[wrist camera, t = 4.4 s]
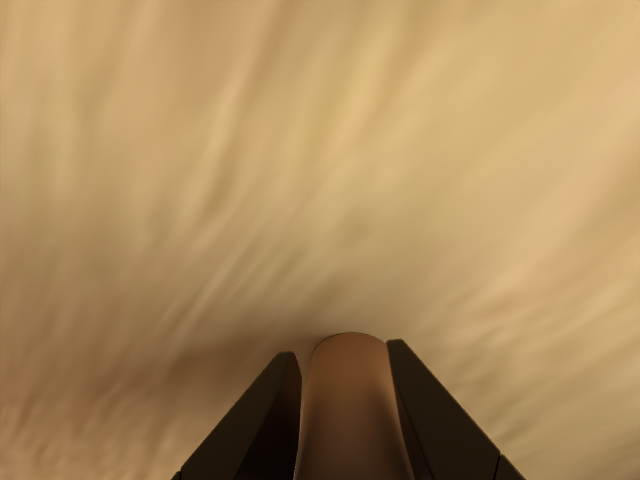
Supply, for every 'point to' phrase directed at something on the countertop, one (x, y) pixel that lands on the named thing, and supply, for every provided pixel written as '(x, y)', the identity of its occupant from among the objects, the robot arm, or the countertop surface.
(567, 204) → the countertop surface
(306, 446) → the tethered block
